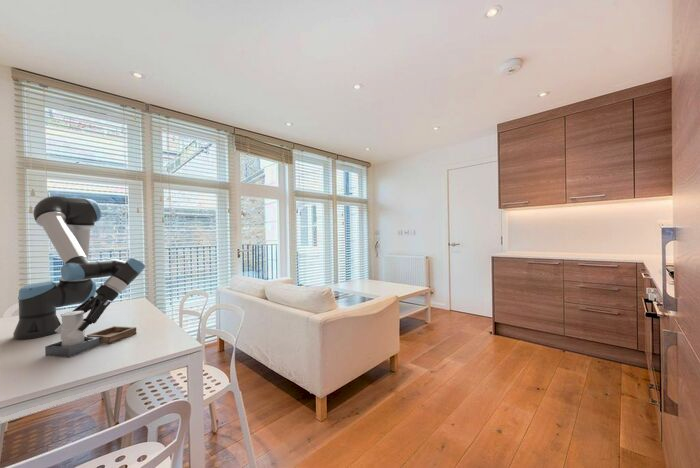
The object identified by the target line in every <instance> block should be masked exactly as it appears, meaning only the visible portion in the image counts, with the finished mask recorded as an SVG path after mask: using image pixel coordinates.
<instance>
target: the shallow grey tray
mask: <svg viewBox="0 0 700 468" xmlns="http://www.w3.org/2000/svg"><path fill="white" fill-rule="evenodd" d="M84 340H85V342H83V343H80V344H77V345H74V346H71V347H61V346H62V340H61V341H58V342H55V343H52V344H49V345H46V346H44V350H45V351H44V355H45V357H57V358H66V359H67V358H68V359H69V358H71V357H74V356H76V355H79V354H82V353H85V352H87V351H90V350H93V349H95V348H97V347H99V346H100V343H99V338H98V337H87V336H84Z"/></svg>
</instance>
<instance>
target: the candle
mask: <svg viewBox="0 0 700 468" xmlns="http://www.w3.org/2000/svg"><path fill="white" fill-rule="evenodd" d="M83 313H84V311H73V310H71V311H67V312H63V313H61V314H60V317H61V324H62V328H61V334H60V340H61V341H62V346H61V347H71V346H74V345H77V344H80V343H83V342H85V340H84V337H85V336H86V333H85V330H86V329H85V330H84V331H83V332H82V333H81V334H80V335H79V336H78V337H77V338H76V339H75V340H73V339H71V338H69V337H67V336H68V335H69V334H70V333H71V332H72V331H73V330H74V329H75V328H76V327H77V326H78V325H79V324H80V323H81V322H82V321H83V319H84V314H85V313H84V314H83Z"/></svg>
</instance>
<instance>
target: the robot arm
mask: <svg viewBox="0 0 700 468" xmlns="http://www.w3.org/2000/svg"><path fill="white" fill-rule="evenodd" d="M32 214H33V218H34V221H35V222H36V224H37V225H38V226H39V227H42V228H43V230H44V232H45V234H46V235H47V237H48V239H49V240H50V242H51V244H52V245H53V247H54V249H55V251H56V252H57V255H58V256H59V258H60V259H61V262H62V263H63V265H62V266H61V268H60V273H61V277H59V282H57V283H56V281H53V280H52V281H51V280H50V281H42V282H36V283H31V284H28V285H24V286H23V287H21V288H19V290H18V297H17V300H18V322H17V324H16V327H15V329H14V331H13V335H12V336H13V339H14V340H18V341H19V340H30V339H31V340H32V339H36V338H42V337H46V336H50V335H53V334H56V333H58V334H60V335H61V328H62V322H61V321H60V319H59V317H58V315H57V308H63V307H66V306H67V307H68V306H72V305H79V306H77V307H75V308H74V309H73V310H72V311H84V313H83V315H85V314H86V313H88V312H89V313H88V314H87V316H86V317H84V318H83V321H82V322H81V323H80V324H79V325H78V326H77V327H76V328H75V329H74V330H73V331H72V332H71V333H70V334H69V335H68V336H67V337H69V338H71V339H73V340H75V339H76V338H77V337H78V336H79V335H80V334H81V333H82V332H83V331H84V330H86V329H87V328H89V326H90V325H93V324H96V323H97V322H98V320H99V319H100V318H101V316H102V315H103V313H104V311H105V310H106V309H107V307H109V306H110V305H111V303H112V301H114V300H116V298H118V297H119V294H121V293H122V292H123V291H125V290H126V288H127V287H128V286H130V284H131V283H132V282H133V281H134V280H135V279H136V278H137V277H138V276H140V275H141V273H142V272H143V271H144V270H145V268H146V265H145V264H144V262H142V261H141V260H139V259H138V258H135V257H130V258H128V259H127V260H126V261H124V260H121V259H118V258H115V257H108V258H104V259H102V260H94V261H93V260H92V261H90V260H89V253H90V239H91V238H90V237H91V229H92V228H93V227H94V226H95V223H97V222H99V220H100V219H101V217H102V210H101V206H100V205H99V203H97V201H96V200H94V199H90V198H84V197H69V196H59V195H53V196H48V197H45V198H43V199H41V200H40V201H39V202H38V203H37V204H36V205H35V207H34V209H33V213H32ZM106 277H108V278H107V279H106V280H105V281H104V283H103V284H102V285H100V286H99V287H98V288H97V284H96V281H95V280H93V279H98V278H106ZM95 295H96V296H95Z"/></svg>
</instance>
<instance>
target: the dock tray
mask: <svg viewBox="0 0 700 468" xmlns="http://www.w3.org/2000/svg"><path fill="white" fill-rule="evenodd" d="M134 335H137V327H136V326H123V325H122V326H119V325H113V326H110V327H108V328H104V329H101V330H99V331H96V332H93V333H89V334H86V337H98V338H99V344H104V345H105V344H107V345H112V344H115V343H116V342H119V341H121V340H124V339H127V338H130V337H132V336H134Z"/></svg>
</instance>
